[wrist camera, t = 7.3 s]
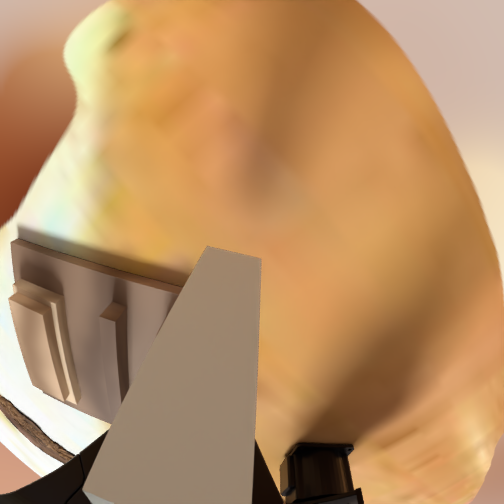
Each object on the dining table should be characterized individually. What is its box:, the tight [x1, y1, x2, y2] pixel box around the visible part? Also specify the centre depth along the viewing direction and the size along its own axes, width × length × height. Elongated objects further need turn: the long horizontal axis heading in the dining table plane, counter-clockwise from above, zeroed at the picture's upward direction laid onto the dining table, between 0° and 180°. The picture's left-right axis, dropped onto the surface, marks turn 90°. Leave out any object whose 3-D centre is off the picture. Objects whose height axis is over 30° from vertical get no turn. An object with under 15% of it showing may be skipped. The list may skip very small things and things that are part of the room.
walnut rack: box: [11, 238, 183, 424], centre depth 20 cm, size 18×18×3 cm
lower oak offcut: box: [13, 279, 82, 405], centre depth 20 cm, size 5×12×1 cm, turn 167°
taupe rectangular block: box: [82, 246, 261, 504], centre depth 7 cm, size 2×7×9 cm, turn 167°
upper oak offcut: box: [8, 292, 70, 402], centre depth 18 cm, size 4×10×1 cm, turn 167°
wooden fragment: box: [0, 395, 74, 464], centre depth 30 cm, size 26×11×1 cm, turn 42°
